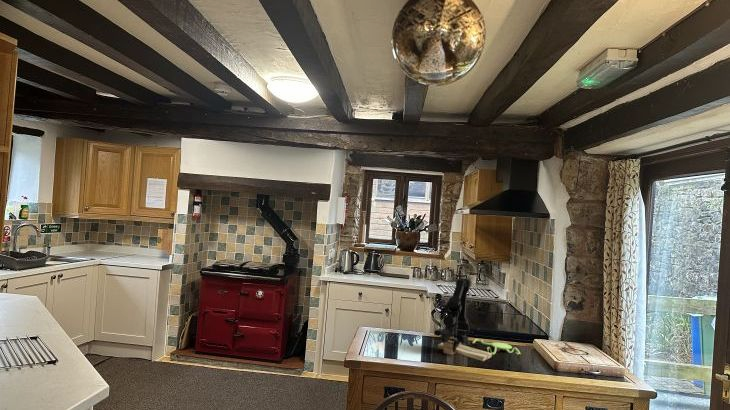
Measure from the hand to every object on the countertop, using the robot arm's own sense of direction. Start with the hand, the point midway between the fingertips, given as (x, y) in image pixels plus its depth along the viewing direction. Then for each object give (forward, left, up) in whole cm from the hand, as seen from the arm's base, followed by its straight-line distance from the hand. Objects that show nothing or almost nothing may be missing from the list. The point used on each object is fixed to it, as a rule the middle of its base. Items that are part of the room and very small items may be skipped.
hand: (449, 350), depth 267 cm
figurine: (-28, +15, -2) cm, 32 cm away
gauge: (-5, 0, -1) cm, 5 cm away
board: (-9, +5, -1) cm, 10 cm away
